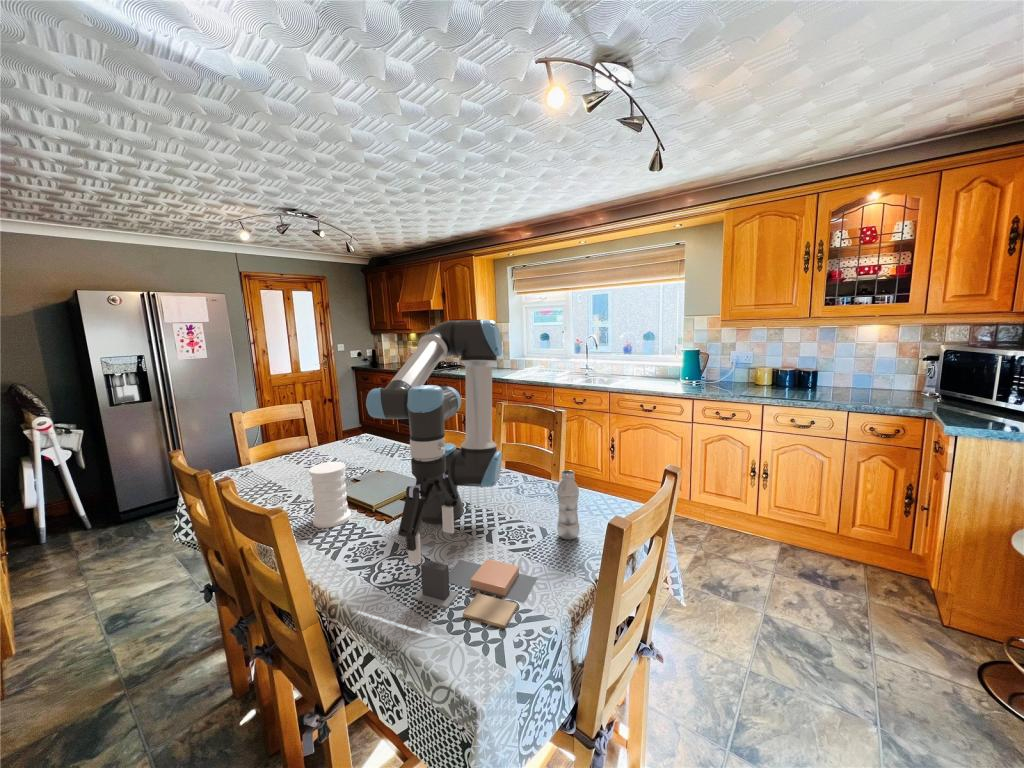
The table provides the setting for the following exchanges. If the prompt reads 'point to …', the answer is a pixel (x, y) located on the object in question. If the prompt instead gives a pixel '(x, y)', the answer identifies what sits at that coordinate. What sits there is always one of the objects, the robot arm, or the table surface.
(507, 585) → the tile
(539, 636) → the table surface
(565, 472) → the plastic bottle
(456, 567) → the mat
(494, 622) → the board
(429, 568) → the grout float
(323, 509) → the decorative container
